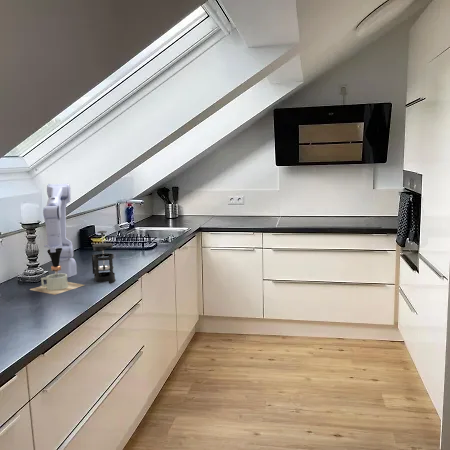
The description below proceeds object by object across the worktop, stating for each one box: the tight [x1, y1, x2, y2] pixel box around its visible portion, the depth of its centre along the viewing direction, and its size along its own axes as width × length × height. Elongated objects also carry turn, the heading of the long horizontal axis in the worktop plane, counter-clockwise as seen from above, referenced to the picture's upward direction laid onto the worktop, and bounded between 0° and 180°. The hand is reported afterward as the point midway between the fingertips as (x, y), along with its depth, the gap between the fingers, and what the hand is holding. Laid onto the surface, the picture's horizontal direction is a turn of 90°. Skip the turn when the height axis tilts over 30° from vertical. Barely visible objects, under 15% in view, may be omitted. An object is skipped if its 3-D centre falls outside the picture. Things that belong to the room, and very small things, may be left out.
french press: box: [91, 230, 116, 284], centre depth 211 cm, size 12×9×23 cm
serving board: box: [29, 281, 85, 296], centre depth 200 cm, size 16×16×1 cm
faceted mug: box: [40, 273, 68, 290], centre depth 200 cm, size 11×9×5 cm
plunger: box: [50, 265, 63, 278], centre depth 199 cm, size 6×6×6 cm
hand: (56, 266), depth 199 cm, fingers closed
